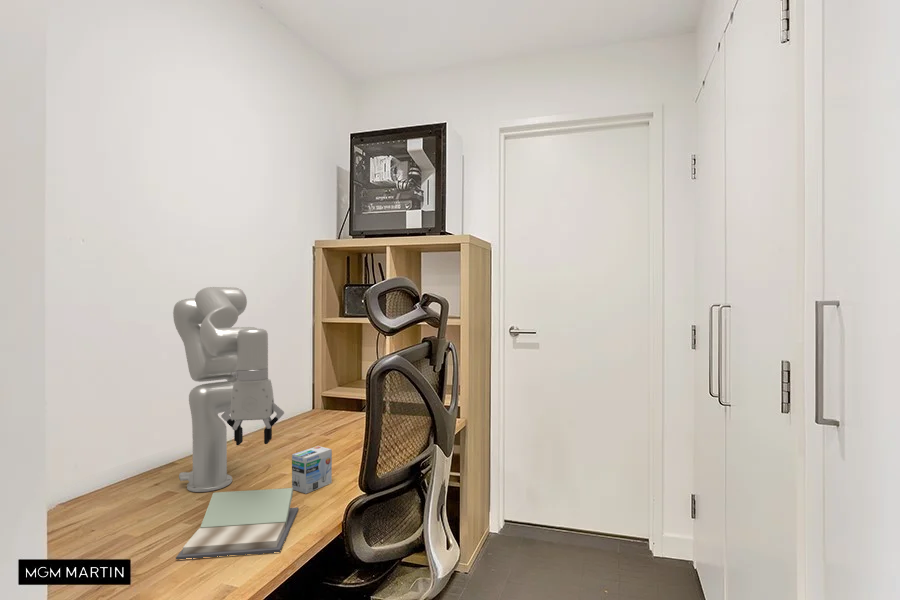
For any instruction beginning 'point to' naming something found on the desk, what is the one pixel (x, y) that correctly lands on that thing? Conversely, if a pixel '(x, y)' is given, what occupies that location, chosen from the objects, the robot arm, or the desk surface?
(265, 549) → the underlay mat
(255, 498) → the sage plank
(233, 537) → the oak plank
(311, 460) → the light bulb box
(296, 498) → the desk surface
